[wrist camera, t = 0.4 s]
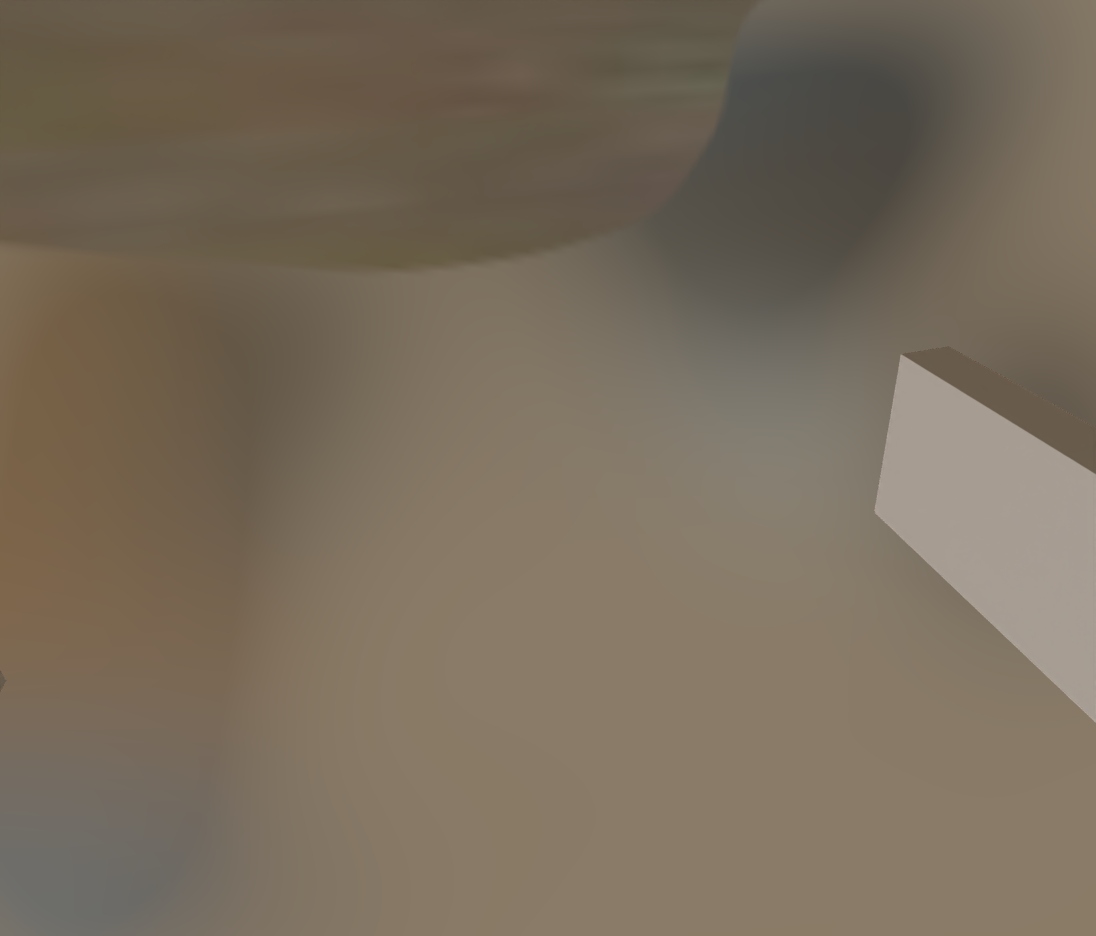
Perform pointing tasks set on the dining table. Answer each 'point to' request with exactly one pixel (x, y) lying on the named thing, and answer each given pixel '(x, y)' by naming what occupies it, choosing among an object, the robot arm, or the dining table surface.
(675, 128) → the dining table surface
